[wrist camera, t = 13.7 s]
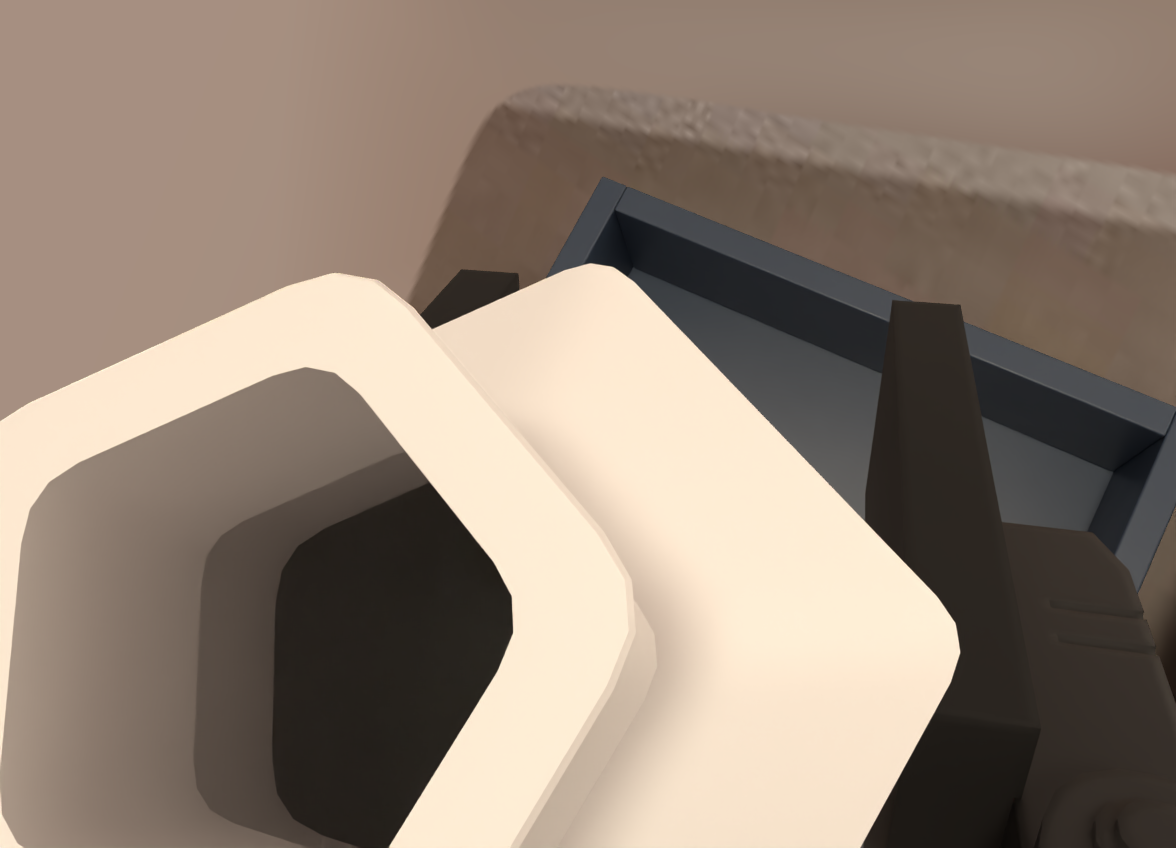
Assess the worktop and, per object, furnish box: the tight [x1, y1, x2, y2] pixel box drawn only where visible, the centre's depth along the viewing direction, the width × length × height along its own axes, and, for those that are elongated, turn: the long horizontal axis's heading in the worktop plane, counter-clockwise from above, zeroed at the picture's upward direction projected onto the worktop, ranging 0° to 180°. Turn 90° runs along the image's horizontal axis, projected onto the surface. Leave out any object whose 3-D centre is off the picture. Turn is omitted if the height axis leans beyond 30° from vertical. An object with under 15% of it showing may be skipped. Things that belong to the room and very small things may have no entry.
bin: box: [546, 177, 1176, 848], centre depth 27 cm, size 17×17×5 cm
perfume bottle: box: [0, 263, 960, 848], centre depth 10 cm, size 5×4×15 cm
